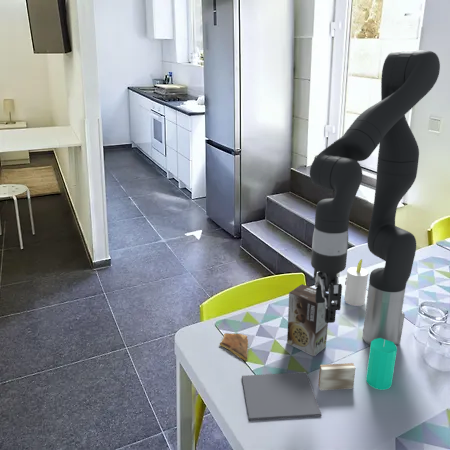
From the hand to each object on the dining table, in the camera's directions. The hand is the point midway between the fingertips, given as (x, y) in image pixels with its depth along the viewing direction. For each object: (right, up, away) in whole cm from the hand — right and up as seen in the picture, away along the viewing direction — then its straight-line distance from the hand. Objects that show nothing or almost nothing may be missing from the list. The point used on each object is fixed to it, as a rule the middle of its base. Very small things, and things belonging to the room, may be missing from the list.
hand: (324, 311), depth 106 cm
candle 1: (+19, -5, +42) cm, 47 cm away
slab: (+4, -19, +5) cm, 20 cm away
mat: (-10, -20, +2) cm, 22 cm away
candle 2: (+15, -18, +7) cm, 24 cm away
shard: (-19, -14, +20) cm, 31 cm away
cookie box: (-1, -13, +20) cm, 24 cm away
